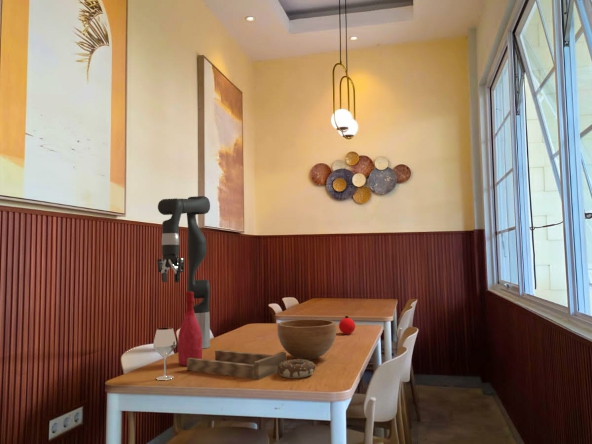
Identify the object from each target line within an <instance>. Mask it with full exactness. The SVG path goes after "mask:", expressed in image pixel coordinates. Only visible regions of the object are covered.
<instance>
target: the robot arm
mask: <svg viewBox="0 0 592 444" xmlns="http://www.w3.org/2000/svg"><path fill="white" fill-rule="evenodd" d="M210 209H211V202H210V199H209V198H208V197H207V196H205V195H199V196H197V195H196V196H189V197H187V198H164V199H161V200H159V202H158V204H157V210H158V212H159V213H160V214H161V215H164V216H171V217H170V218H168V219H166V220H163V221H162V224H161V226H162V227H161V232H162V233H161V255H162V258H157V260H156V261H157V272H158V273H160V274H161V281H162V283H167V282H168V271H169V270H170V268H171V269H172V270H173V272H174V283H180V281H181V277H180V276H181V275H180V274H181V273H183V272H184V271H185V258H184V257H179V255H180V229H179V228H180V226H179V225H180V220H181V217H182V215H183V214H186V220H187V262H188V264H187V270H188V272H187V291H186V292H188V291H192V292H193V293H194V300H195V299H202V300H201V301H200V302H198V303H197V304H195V305H194V304H193V309H194V313H195V317H196V319H197V322H198V324H199V326H200V329H201V333H202V349H207V348H208V349H209V348H210V347H211V331H210V330H211V327H210V326H211V325H210V324H211V323H210V322H211V319H210V318H211V317H210V316H211V315H210V313H211V312H210V295H211V293H210V292H211V284H210V281H209V279H195V277H196V274H197V272H198V269H199V267H200V265H201V264H202V262H203V261H204V259H205V257H206V255H207V239H206V237H205V235H204V233H203V232H202V230H201V229H200V227H199V225H198V223H197V215H206V214H209V211H210Z"/></svg>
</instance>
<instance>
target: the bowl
mask: <svg viewBox="0 0 592 444" xmlns="http://www.w3.org/2000/svg"><path fill="white" fill-rule="evenodd" d="M277 336H278V337H277V338H278V339H279V343H280V345H281V346H282V349H284V351H285V352H286V353H287V354H289V355H291V356H292V357H294V358H295V359H302V360H308V361H310V360H316V359H319V358H321V357H322V356H323V355H325V354H326V353H328V351H329V350H330V349H331V348H332V346H333V345H334V343H335V340H336V336H337V324H336V321H334V320H329V319H317V318H306V319H304V318H303V319H291V320H290V319H289V320H285V321H280V322H278V324H277Z"/></svg>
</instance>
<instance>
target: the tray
mask: <svg viewBox="0 0 592 444" xmlns="http://www.w3.org/2000/svg"><path fill="white" fill-rule="evenodd" d="M286 360H287V351H280V352H277V353H276V354H265V353H255V352H245V351H243V352H242V351H236V350H235V351H233V350H222V349H216V350H214V360H212V359H207V358H206V359H204V358H202V359H197V358H188V359H187V366H186V371H187V370H191V371H190V372H195V371H199V372H198V373H202V372H207V373H206V374H210V373H214V374H213V375H218V374H222V375H221V376H226V375H229V376H228V377H234V376H235V377H236V378H243V379H250V380H258V381H259V380H261V379H264V378H266V377H269V376H271V375H273V374H276V373H278V365H279V364H280V363H281V362H283V361H286Z"/></svg>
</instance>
